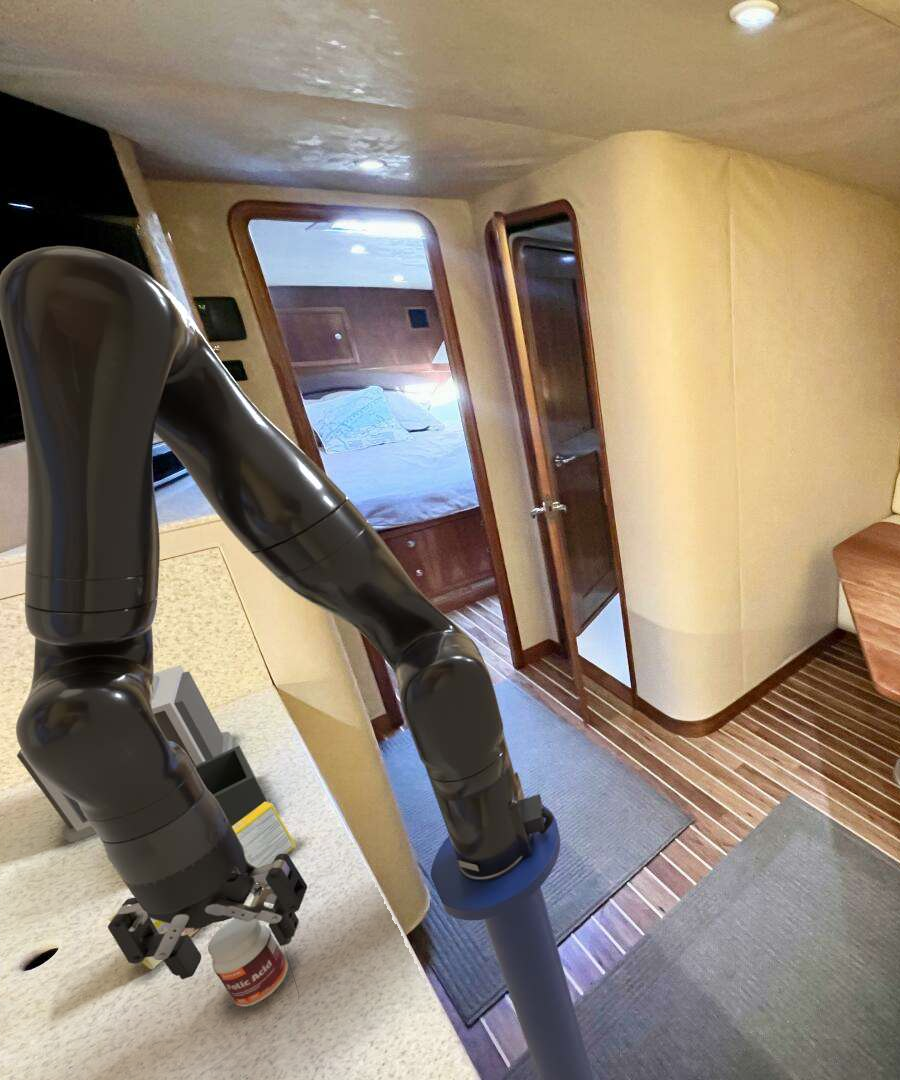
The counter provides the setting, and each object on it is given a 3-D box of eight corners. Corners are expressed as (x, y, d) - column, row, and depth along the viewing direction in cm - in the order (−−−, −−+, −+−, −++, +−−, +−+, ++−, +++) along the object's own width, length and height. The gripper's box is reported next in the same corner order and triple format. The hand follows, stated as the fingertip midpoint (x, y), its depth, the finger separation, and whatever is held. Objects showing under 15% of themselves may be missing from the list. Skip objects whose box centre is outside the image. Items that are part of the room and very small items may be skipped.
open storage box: (273, 814, 80) (254, 776, 77) (184, 864, 73) (159, 824, 70) (257, 781, 86) (239, 745, 84) (174, 824, 80) (151, 786, 77)
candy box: (287, 843, 75) (265, 799, 72) (297, 847, 75) (275, 803, 71) (141, 964, 61) (106, 917, 58) (152, 971, 61) (117, 923, 57)
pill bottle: (235, 1019, 56) (202, 969, 52) (234, 982, 59) (202, 933, 56) (291, 983, 59) (262, 933, 55) (287, 949, 62) (259, 901, 59)
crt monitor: (233, 736, 97) (189, 651, 90) (229, 778, 87) (180, 687, 81) (87, 791, 87) (26, 700, 80) (65, 846, 77) (-8, 748, 70)
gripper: (279, 791, 56) (329, 895, 62) (107, 837, 52) (178, 944, 58) (248, 851, 49) (307, 961, 56) (47, 909, 45) (135, 1021, 51)
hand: (241, 952), depth 57 cm, fingers open, 8 cm apart
